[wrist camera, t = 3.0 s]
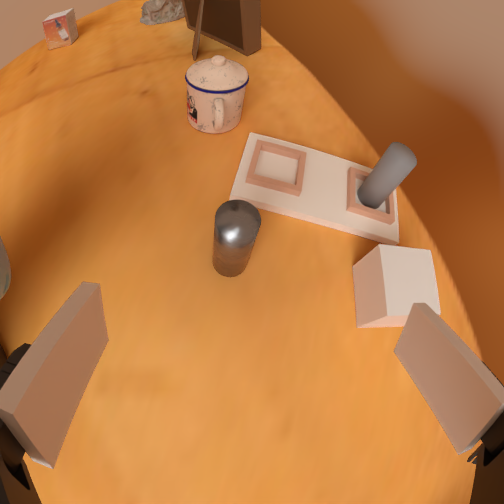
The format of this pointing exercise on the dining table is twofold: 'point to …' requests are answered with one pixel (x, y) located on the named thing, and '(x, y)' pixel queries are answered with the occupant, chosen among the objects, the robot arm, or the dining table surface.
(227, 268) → the peg
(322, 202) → the pegboard
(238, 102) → the teacup with lid
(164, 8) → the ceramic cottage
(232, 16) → the photo frame
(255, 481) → the dining table surface
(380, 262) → the block
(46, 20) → the small box
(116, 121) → the dining table surface
